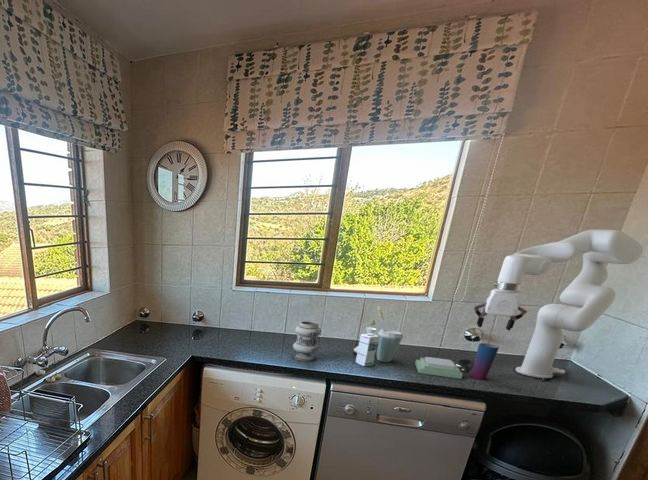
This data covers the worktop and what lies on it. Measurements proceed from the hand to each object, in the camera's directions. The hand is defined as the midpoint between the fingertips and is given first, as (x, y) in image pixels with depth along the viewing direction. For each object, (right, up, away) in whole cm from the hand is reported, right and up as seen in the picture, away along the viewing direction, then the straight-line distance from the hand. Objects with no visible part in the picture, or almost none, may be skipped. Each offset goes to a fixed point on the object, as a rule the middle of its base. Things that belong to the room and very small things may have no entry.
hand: (493, 328), depth 169 cm
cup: (0, -21, +8) cm, 23 cm away
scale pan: (-12, -15, +15) cm, 24 cm away
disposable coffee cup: (-29, -13, +29) cm, 43 cm away
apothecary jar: (-67, -11, +31) cm, 75 cm away
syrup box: (-41, -15, +24) cm, 50 cm away
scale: (-12, -18, +16) cm, 27 cm away
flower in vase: (-33, -9, +38) cm, 51 cm away
